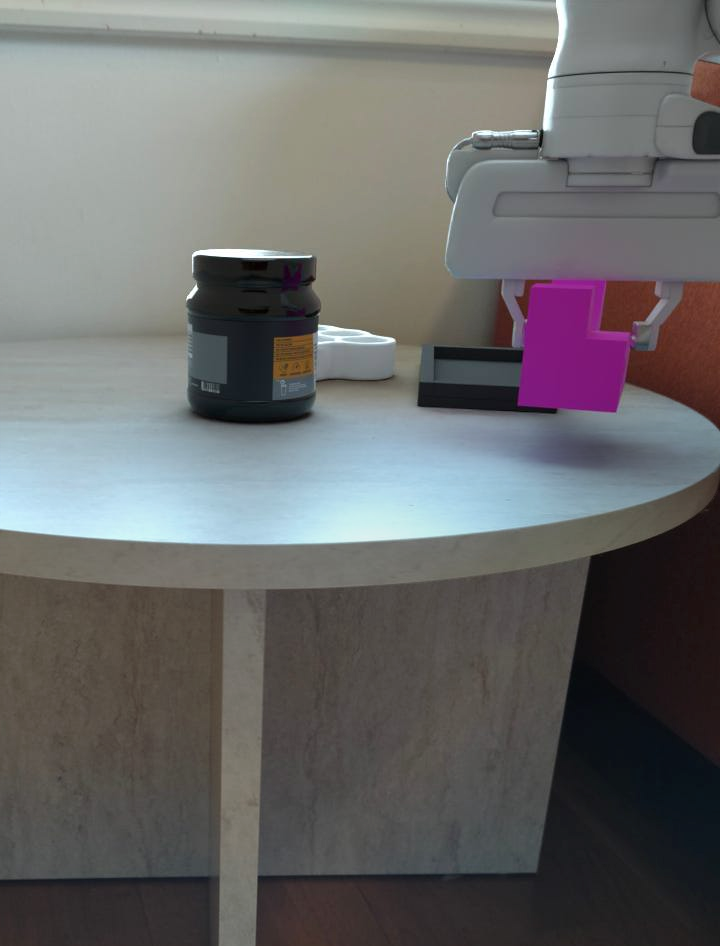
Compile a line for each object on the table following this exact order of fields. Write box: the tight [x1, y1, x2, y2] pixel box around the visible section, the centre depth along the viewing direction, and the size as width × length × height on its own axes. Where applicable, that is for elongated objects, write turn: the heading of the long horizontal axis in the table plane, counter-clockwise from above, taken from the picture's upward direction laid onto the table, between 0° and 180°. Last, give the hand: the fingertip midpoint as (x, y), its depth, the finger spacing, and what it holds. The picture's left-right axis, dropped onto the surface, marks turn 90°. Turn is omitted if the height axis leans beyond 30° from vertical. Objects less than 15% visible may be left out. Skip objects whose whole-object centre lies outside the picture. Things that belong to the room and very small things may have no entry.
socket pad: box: [416, 343, 558, 414], centre depth 94 cm, size 11×21×2 cm, turn 170°
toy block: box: [518, 280, 633, 414], centre depth 72 cm, size 15×6×8 cm, turn 158°
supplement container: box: [185, 248, 322, 423], centre depth 80 cm, size 10×10×12 cm
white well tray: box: [316, 324, 397, 382], centre depth 101 cm, size 3×18×15 cm
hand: (582, 348), depth 72 cm, fingers closed on toy block, 7 cm apart
